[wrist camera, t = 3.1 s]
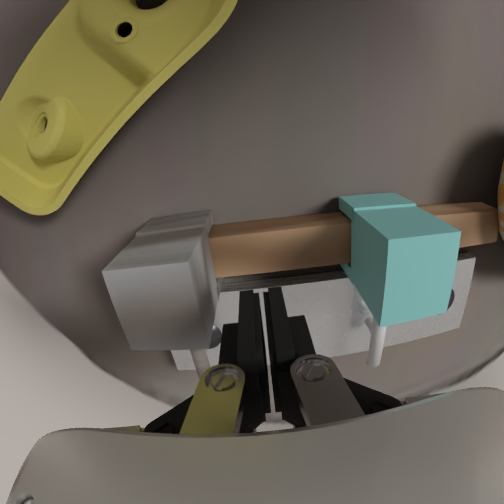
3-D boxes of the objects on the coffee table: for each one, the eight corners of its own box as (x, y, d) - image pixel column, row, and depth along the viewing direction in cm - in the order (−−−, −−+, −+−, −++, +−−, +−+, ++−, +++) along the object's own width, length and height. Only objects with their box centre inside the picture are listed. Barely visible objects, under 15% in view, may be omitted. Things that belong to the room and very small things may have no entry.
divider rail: (153, 217, 19) (100, 268, 11) (482, 188, 18) (551, 218, 10) (189, 351, 23) (170, 427, 16) (462, 309, 22) (507, 360, 15)
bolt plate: (157, 289, 21) (153, 298, 20) (467, 251, 20) (476, 257, 19) (180, 360, 23) (178, 370, 22) (452, 320, 22) (459, 327, 21)
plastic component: (48, 227, 16) (-52, 156, 10) (73, 173, 22) (-6, 116, 15) (279, -5, 10) (155, -112, 4) (247, 3, 15) (160, -75, 9)
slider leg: (338, 196, 18) (388, 236, 11) (394, 192, 18) (461, 228, 11) (337, 339, 22) (362, 411, 15) (382, 331, 22) (418, 396, 15)
